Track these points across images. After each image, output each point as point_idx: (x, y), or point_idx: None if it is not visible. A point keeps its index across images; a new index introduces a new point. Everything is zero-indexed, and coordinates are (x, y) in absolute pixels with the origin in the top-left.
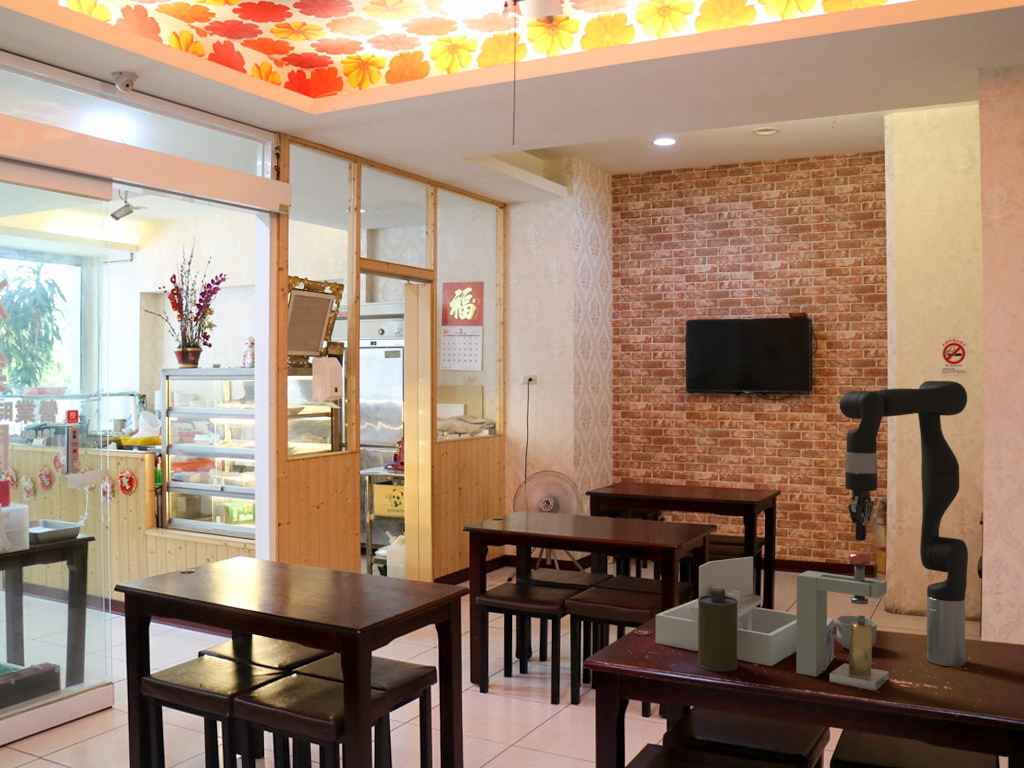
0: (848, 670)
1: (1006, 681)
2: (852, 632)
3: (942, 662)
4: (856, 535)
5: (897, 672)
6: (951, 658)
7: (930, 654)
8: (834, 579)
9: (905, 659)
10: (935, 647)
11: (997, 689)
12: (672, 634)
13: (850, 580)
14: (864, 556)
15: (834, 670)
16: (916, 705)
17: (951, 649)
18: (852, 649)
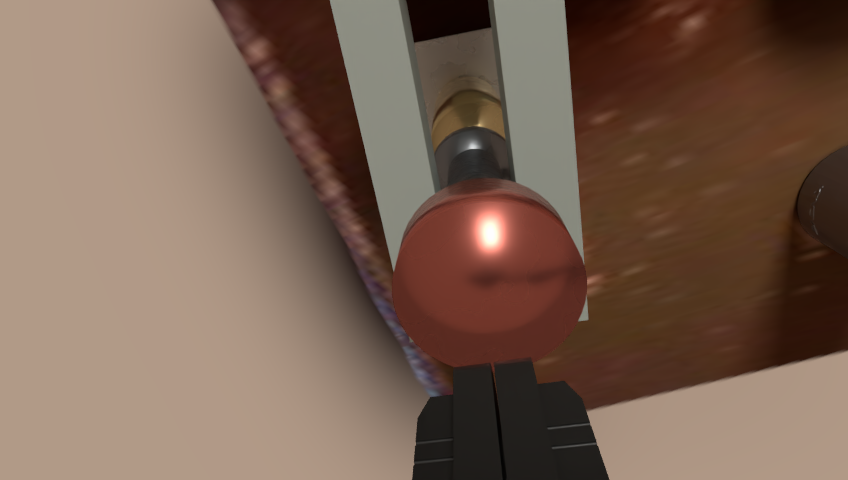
0: (460, 74)
1: (745, 358)
2: (434, 124)
3: (803, 208)
4: (418, 426)
5: (634, 143)
6: (818, 236)
7: (832, 173)
8: (369, 80)
9: (809, 94)
10: (837, 202)
11: (657, 363)
12: None
13: (427, 171)
14: (432, 354)
15: (425, 42)
16: (390, 290)
17: (837, 247)
18: (434, 114)
